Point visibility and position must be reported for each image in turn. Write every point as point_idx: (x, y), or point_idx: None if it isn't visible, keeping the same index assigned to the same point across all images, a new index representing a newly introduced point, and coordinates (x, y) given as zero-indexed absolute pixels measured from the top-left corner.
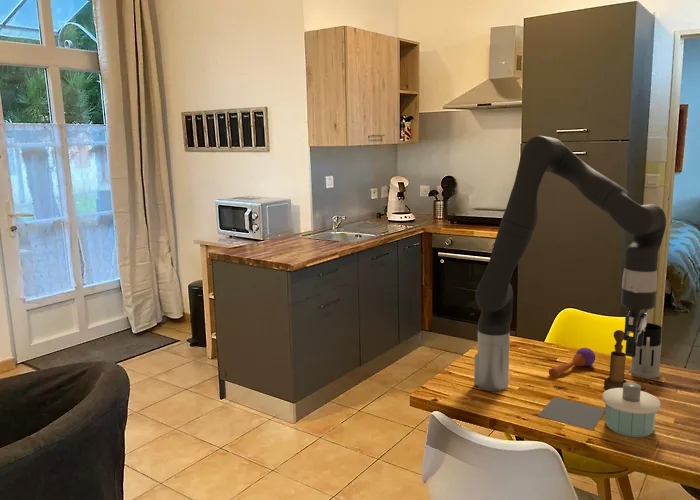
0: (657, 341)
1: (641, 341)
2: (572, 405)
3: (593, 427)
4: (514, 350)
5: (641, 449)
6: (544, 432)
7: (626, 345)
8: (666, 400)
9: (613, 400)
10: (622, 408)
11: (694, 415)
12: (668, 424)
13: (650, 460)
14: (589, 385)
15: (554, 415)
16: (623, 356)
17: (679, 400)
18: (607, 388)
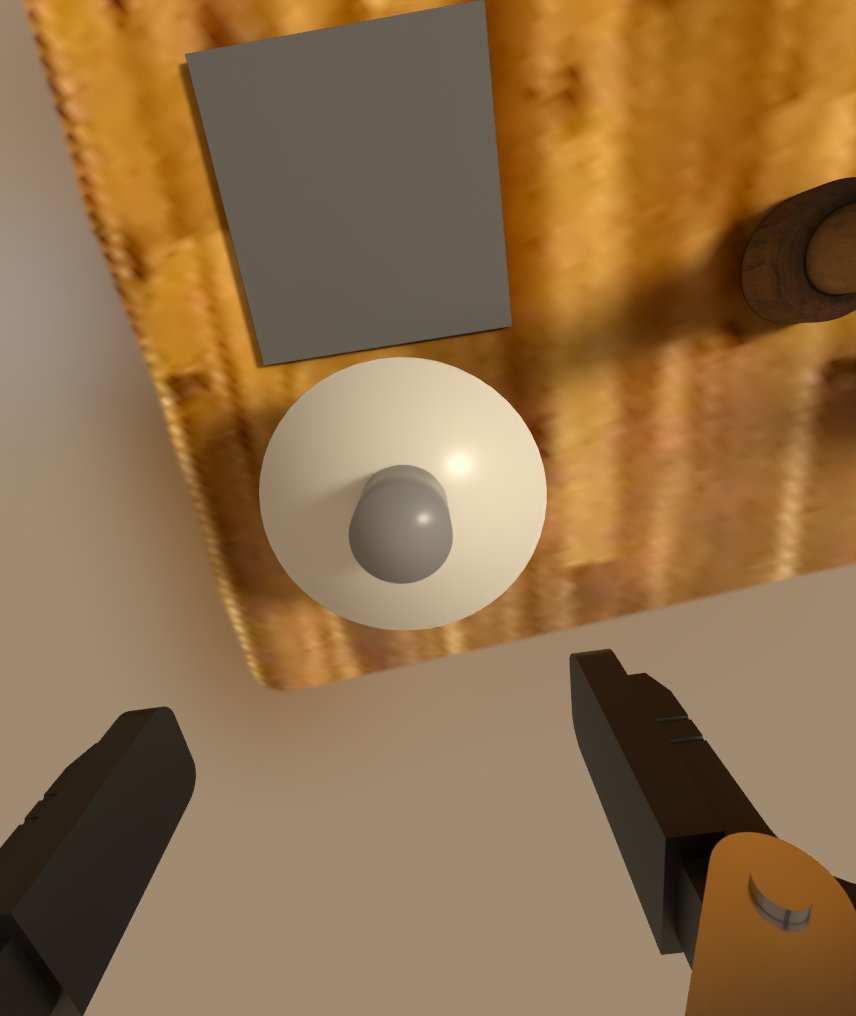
0: None
1: (596, 788)
2: (443, 161)
3: (289, 357)
4: None
5: None
6: (85, 185)
7: (32, 837)
8: (776, 489)
9: (311, 446)
10: (262, 513)
11: (678, 603)
12: (541, 560)
13: (227, 595)
14: (794, 105)
15: (262, 137)
16: None
17: (802, 527)
18: (764, 228)
